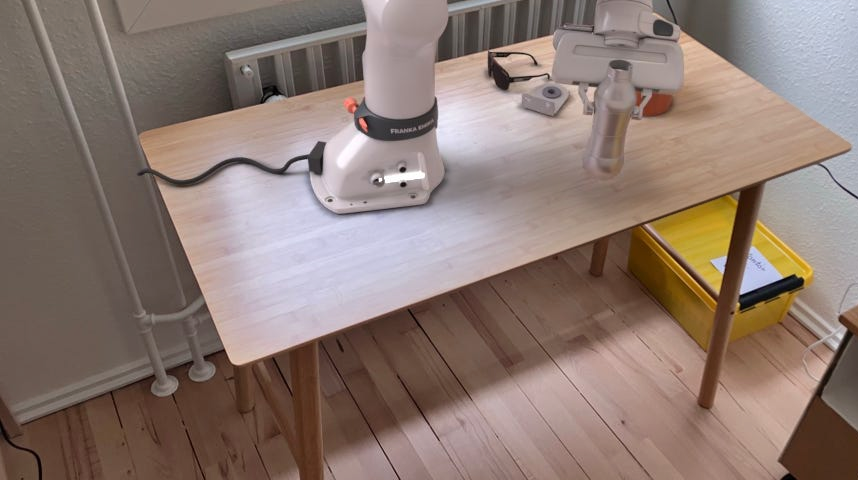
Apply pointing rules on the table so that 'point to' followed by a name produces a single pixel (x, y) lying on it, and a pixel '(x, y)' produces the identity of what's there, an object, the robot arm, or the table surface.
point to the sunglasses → (502, 75)
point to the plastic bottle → (610, 122)
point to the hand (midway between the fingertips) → (612, 116)
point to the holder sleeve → (655, 104)
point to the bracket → (546, 98)
